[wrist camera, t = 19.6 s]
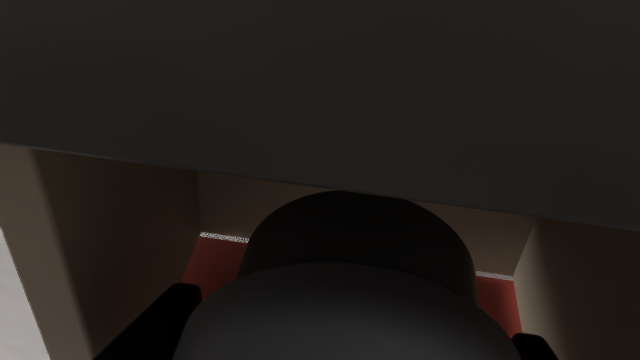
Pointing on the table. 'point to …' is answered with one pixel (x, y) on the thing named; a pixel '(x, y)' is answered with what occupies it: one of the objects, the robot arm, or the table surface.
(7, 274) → the table surface
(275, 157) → the dark matchbox-style case
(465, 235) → the filter drawer
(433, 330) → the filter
